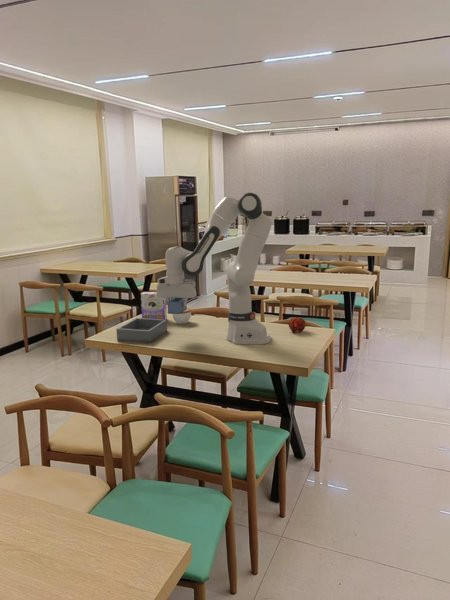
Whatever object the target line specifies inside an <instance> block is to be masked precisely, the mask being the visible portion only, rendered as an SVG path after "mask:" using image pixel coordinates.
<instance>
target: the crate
mask: <svg viewBox="0 0 450 600" xmlns="http://www.w3.org/2000/svg"><path fill="white" fill-rule="evenodd" d="M166 332H168V319H166V320H161V319H145V318H142V317H135V318H134V319H132V320H130V321H128V322H126V323H125V324H123V325H121V326H119V327H118V328H116V341H121V342H135V343H144V344H145V343H147V344H150V343H152V342H153V341H155V340H156V339H157V338H159V337H161V336H162V335H163V334H164V333H166ZM161 334H162V335H161ZM154 339H155V340H154Z"/></svg>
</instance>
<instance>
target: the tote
mask: <svg viewBox="0 0 450 600" xmlns="http://www.w3.org/2000/svg"><path fill="white" fill-rule="evenodd" d="M169 300H170V301H168V302H167V313H168V315H169V314H170V315H173V314H180V313H182V312H183V311H185V310H186V309H187V308H188V307H187V305H186V306H185V307H182V303H184V301H185V300H184V298H172V299H171V298H170V299H169Z"/></svg>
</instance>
